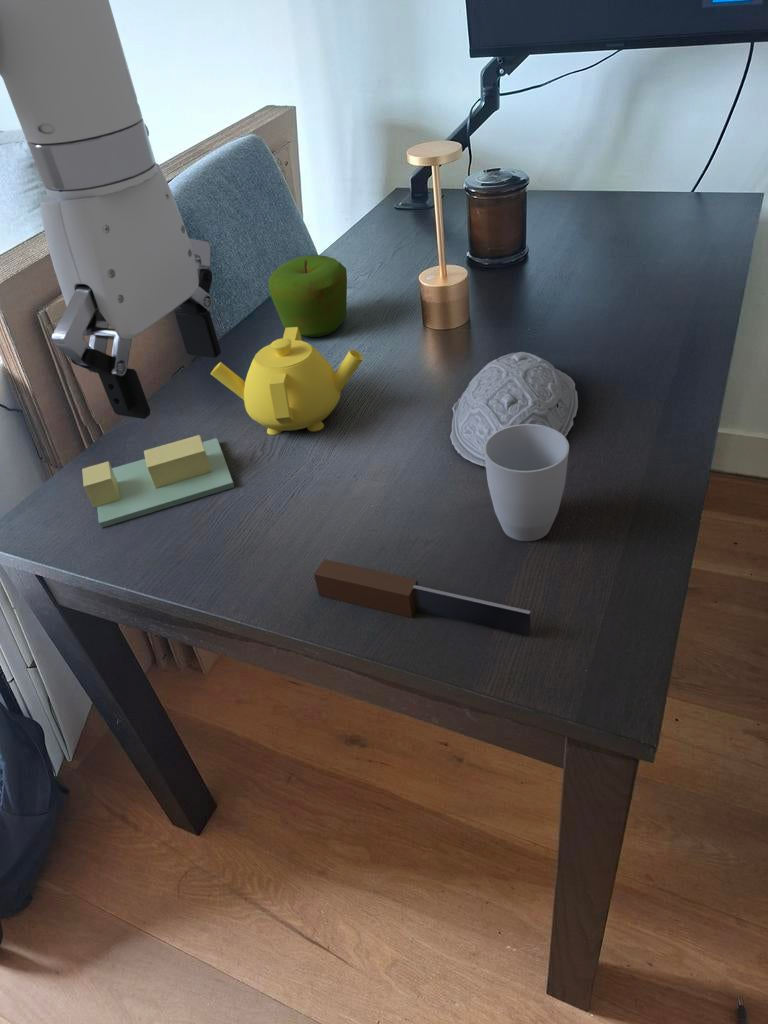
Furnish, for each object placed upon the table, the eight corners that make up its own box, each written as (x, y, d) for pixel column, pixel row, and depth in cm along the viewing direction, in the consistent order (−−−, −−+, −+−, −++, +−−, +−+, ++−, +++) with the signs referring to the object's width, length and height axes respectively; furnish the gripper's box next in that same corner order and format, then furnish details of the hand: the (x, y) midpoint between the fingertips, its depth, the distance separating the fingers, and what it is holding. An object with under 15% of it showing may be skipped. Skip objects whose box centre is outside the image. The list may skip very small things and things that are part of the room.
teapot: (373, 377, 108) (363, 303, 101) (368, 448, 94) (355, 369, 87) (236, 390, 110) (217, 318, 103) (212, 461, 96) (187, 384, 89)
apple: (282, 316, 128) (268, 250, 121) (354, 307, 127) (344, 240, 120) (276, 351, 118) (260, 281, 111) (354, 341, 118) (343, 270, 111)
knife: (318, 595, 75) (313, 572, 73) (328, 580, 77) (323, 557, 75) (526, 645, 67) (526, 621, 65) (533, 628, 69) (533, 603, 67)
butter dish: (101, 528, 88) (98, 523, 88) (95, 478, 96) (93, 473, 96) (234, 487, 91) (233, 482, 91) (218, 442, 100) (217, 437, 99)
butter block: (155, 488, 92) (146, 467, 90) (151, 471, 95) (143, 450, 93) (211, 471, 93) (205, 450, 91) (206, 455, 96) (199, 434, 94)
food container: (586, 363, 103) (582, 318, 98) (564, 481, 86) (559, 433, 81) (474, 369, 108) (467, 326, 104) (433, 481, 91) (422, 436, 87)
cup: (577, 513, 80) (582, 434, 74) (546, 560, 75) (548, 480, 69) (507, 494, 84) (506, 417, 78) (473, 538, 79) (469, 459, 73)
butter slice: (93, 507, 90) (83, 486, 88) (91, 489, 93) (81, 468, 91) (120, 499, 91) (111, 478, 89) (117, 481, 94) (108, 460, 92)
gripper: (132, 126, 58) (194, 331, 69) (-45, 201, 46) (62, 435, 57) (213, 123, 55) (264, 338, 66) (46, 203, 43) (141, 449, 54)
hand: (170, 383), depth 61 cm, fingers open, 9 cm apart
